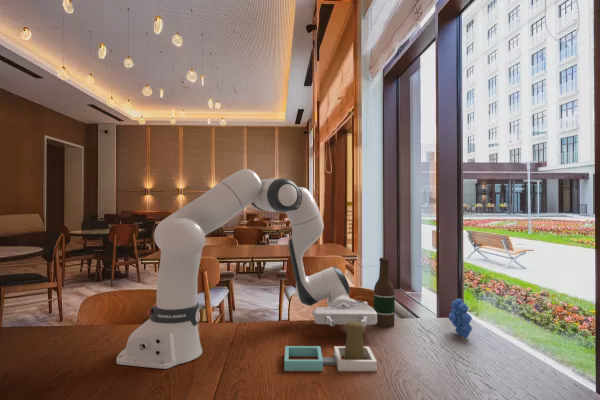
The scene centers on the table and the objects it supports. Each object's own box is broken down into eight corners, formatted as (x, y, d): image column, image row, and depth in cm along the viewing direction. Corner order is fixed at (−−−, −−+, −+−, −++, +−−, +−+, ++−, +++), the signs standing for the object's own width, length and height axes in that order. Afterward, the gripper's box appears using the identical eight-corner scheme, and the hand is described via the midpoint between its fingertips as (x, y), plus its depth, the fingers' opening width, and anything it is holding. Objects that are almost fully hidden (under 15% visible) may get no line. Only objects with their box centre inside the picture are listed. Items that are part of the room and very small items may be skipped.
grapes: (440, 329, 126) (440, 295, 127) (459, 329, 127) (459, 295, 127) (456, 342, 115) (456, 304, 115) (477, 342, 115) (477, 304, 115)
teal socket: (284, 370, 94) (284, 361, 94) (285, 354, 104) (285, 346, 104) (322, 371, 94) (323, 361, 94) (320, 355, 104) (320, 346, 104)
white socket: (322, 371, 94) (323, 361, 94) (320, 355, 104) (320, 346, 104) (376, 371, 94) (376, 361, 94) (368, 355, 104) (368, 346, 104)
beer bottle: (397, 323, 133) (398, 257, 133) (391, 329, 126) (391, 260, 126) (377, 319, 137) (377, 255, 137) (369, 325, 130) (370, 258, 130)
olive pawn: (365, 368, 96) (365, 326, 96) (342, 366, 97) (342, 325, 97) (365, 359, 102) (366, 319, 102) (344, 357, 103) (344, 318, 103)
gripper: (312, 301, 124) (314, 313, 110) (371, 301, 124) (381, 313, 111) (311, 319, 124) (314, 334, 110) (371, 320, 124) (381, 334, 110)
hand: (348, 323), depth 110 cm, fingers open, 8 cm apart
